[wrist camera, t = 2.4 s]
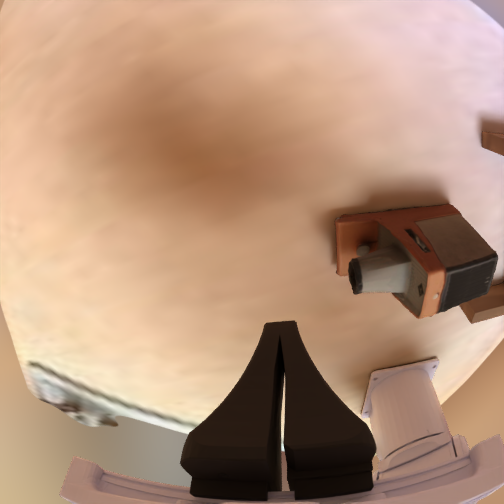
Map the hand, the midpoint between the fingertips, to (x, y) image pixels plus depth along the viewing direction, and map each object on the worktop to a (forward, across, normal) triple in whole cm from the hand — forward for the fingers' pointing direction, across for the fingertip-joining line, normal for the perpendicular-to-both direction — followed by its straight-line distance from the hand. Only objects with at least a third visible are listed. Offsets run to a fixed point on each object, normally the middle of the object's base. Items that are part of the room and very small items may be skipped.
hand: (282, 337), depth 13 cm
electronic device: (+9, -8, 0) cm, 13 cm away
